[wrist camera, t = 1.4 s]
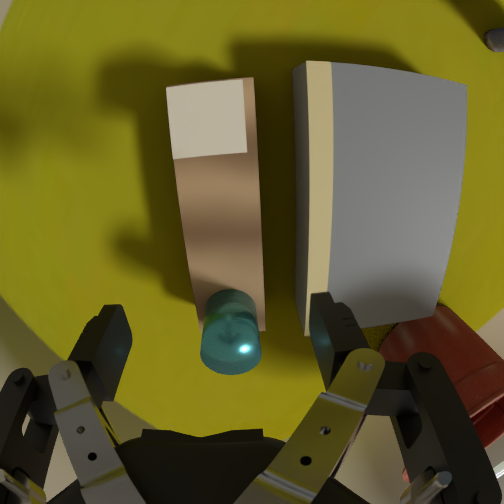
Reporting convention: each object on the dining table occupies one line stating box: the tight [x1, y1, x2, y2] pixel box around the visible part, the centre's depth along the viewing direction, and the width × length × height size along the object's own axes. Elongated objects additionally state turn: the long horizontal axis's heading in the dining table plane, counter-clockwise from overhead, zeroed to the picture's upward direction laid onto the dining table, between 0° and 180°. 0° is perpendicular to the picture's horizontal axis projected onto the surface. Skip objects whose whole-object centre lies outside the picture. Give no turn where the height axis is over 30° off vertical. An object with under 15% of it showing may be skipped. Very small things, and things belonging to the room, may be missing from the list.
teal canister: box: [200, 289, 261, 375], centre depth 23 cm, size 4×4×5 cm
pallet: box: [167, 77, 266, 335], centre depth 24 cm, size 20×6×4 cm, turn 3°
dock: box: [292, 61, 467, 336], centre depth 23 cm, size 21×13×5 cm, turn 3°
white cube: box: [166, 79, 247, 159], centre depth 17 cm, size 4×4×4 cm
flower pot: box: [378, 305, 504, 482], centre depth 27 cm, size 16×16×16 cm
